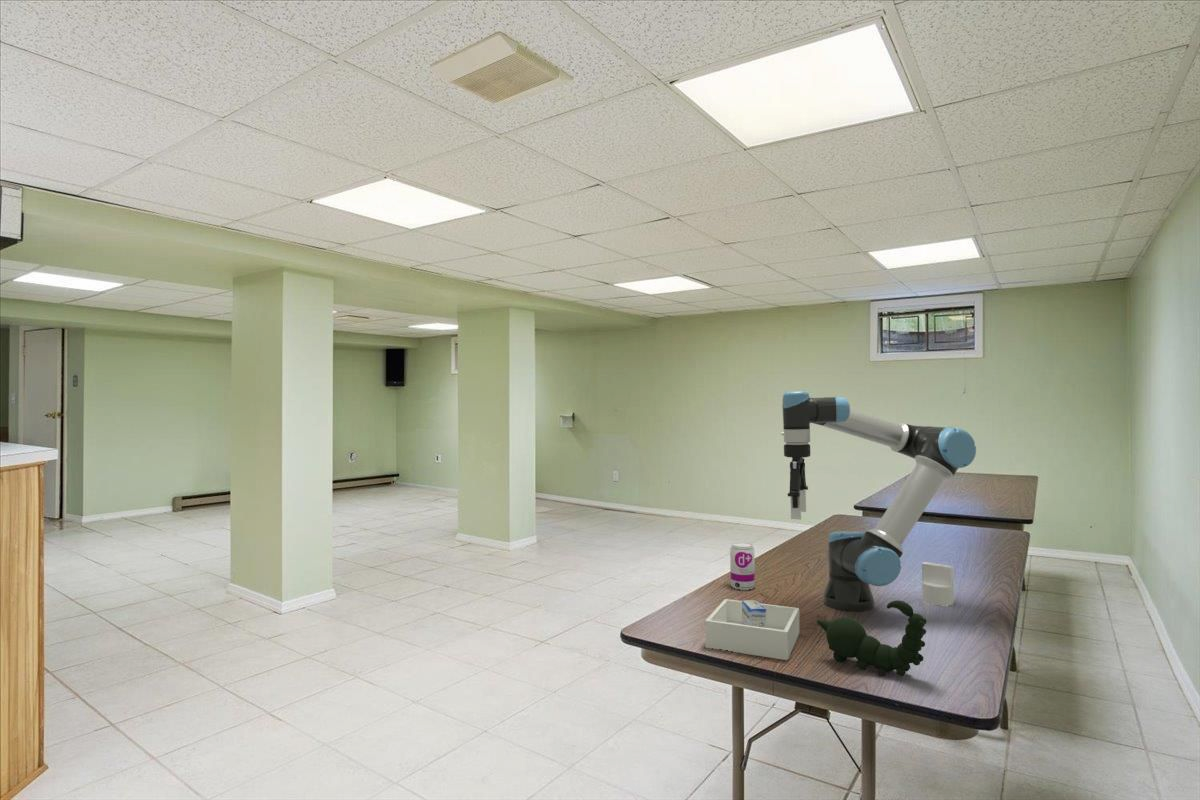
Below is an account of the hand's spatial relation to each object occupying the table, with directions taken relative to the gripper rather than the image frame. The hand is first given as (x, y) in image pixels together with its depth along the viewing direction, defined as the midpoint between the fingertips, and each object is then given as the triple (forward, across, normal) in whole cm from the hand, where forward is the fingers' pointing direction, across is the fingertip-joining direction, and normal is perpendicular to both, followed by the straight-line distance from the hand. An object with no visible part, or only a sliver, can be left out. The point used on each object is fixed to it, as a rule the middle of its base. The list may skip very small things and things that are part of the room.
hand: (798, 515), depth 191 cm
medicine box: (+30, +22, -10) cm, 38 cm away
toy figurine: (+31, +30, +19) cm, 47 cm away
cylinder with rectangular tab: (+32, -36, +38) cm, 61 cm away
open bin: (+31, +22, -10) cm, 39 cm away
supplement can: (+31, -28, -23) cm, 48 cm away
